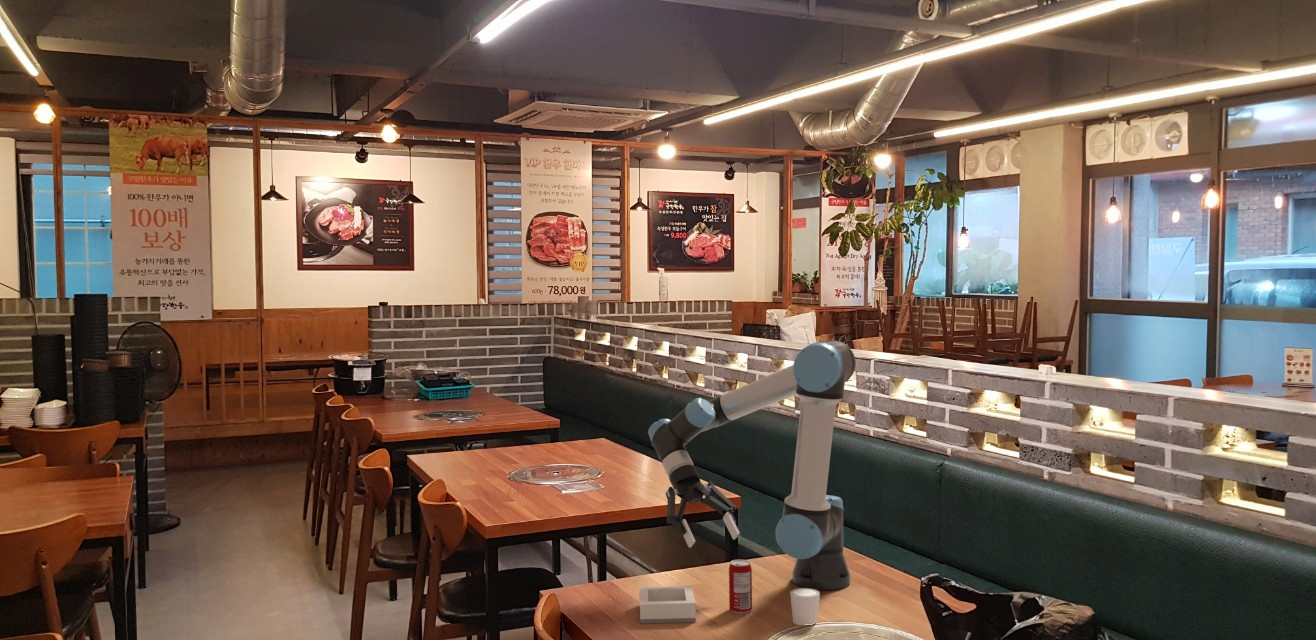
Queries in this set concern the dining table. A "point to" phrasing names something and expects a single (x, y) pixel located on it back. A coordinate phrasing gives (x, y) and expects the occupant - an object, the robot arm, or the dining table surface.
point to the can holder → (667, 604)
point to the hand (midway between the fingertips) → (714, 540)
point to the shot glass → (804, 605)
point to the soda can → (740, 586)
